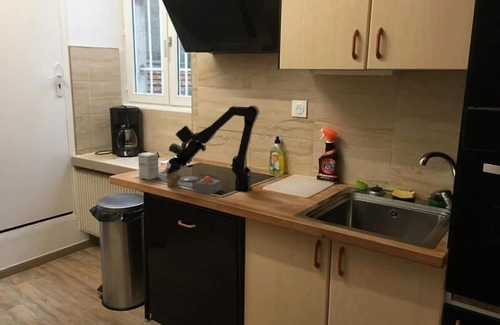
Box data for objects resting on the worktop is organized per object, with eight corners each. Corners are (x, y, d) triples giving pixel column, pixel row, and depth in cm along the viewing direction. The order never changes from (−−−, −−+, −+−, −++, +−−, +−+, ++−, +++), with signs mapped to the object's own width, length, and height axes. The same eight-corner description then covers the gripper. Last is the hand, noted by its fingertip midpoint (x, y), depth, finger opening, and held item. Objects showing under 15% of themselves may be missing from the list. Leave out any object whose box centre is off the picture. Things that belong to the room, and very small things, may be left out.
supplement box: (138, 177, 215) (137, 154, 212) (150, 175, 220) (148, 151, 218) (148, 180, 210) (147, 155, 208) (159, 177, 216) (158, 153, 213)
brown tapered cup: (178, 184, 202) (177, 166, 200) (175, 186, 198) (174, 168, 196) (170, 184, 203) (169, 166, 201) (167, 186, 199) (166, 168, 197)
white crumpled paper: (175, 184, 217) (179, 171, 210) (160, 178, 217) (163, 165, 210) (181, 172, 224) (184, 160, 217) (166, 166, 223) (169, 154, 216)
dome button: (214, 189, 193) (214, 175, 191) (209, 191, 189) (209, 177, 187) (206, 188, 194) (205, 174, 193) (201, 190, 190) (201, 176, 189)
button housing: (221, 189, 194) (221, 180, 193) (211, 194, 186) (211, 184, 185) (204, 187, 197) (204, 178, 196) (194, 192, 189) (194, 182, 188)
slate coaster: (202, 178, 214) (202, 177, 214) (192, 182, 205) (192, 182, 205) (185, 176, 218) (185, 175, 218) (175, 180, 209) (175, 180, 209)
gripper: (185, 135, 204) (165, 156, 208) (171, 141, 186) (149, 164, 190) (201, 151, 204) (180, 172, 208) (189, 159, 186) (166, 181, 190)
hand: (169, 172), depth 199 cm, fingers closed on brown tapered cup, 4 cm apart
